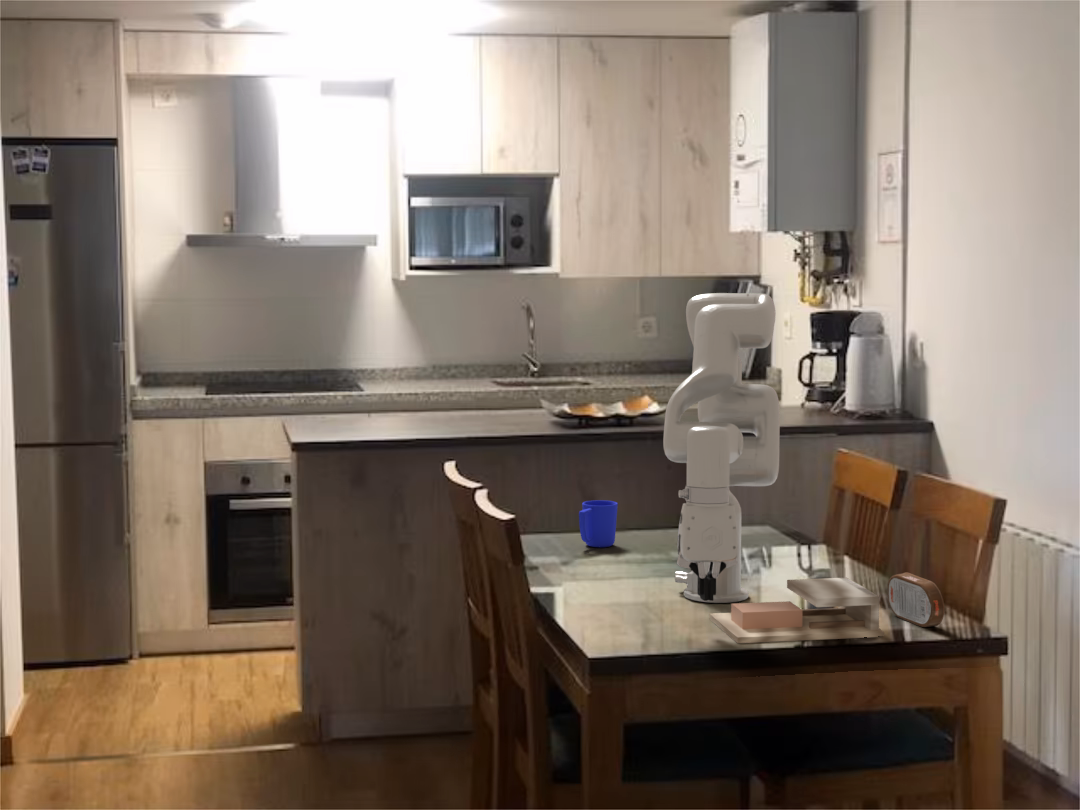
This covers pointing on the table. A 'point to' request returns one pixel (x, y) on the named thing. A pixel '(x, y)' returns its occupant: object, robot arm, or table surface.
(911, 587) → the tin
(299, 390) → the table surface
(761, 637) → the shelf
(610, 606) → the table surface
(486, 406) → the table surface
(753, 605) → the peach pink brick
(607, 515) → the mug
